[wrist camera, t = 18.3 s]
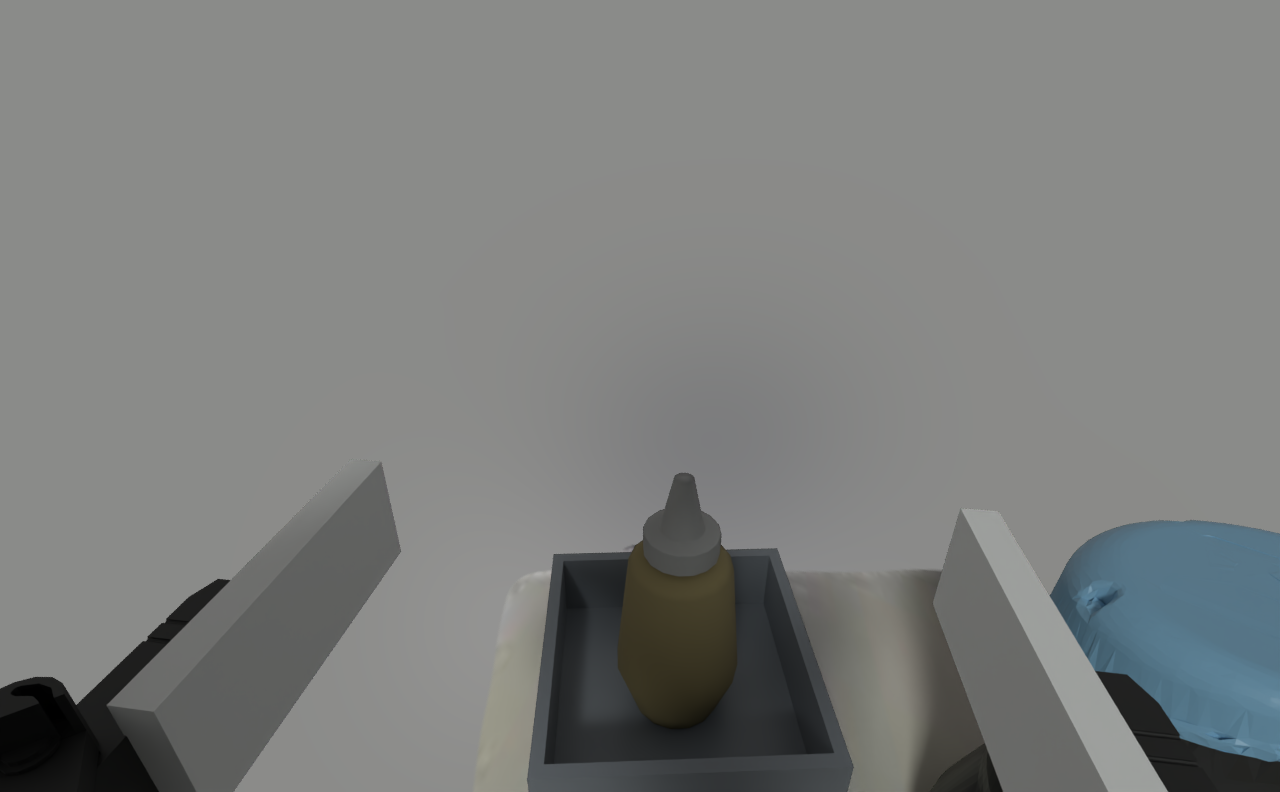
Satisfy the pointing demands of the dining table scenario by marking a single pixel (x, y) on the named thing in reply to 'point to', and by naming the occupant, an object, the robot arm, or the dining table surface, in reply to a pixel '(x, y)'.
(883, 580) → the dining table surface
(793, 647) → the box
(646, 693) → the squeeze bottle
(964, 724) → the dining table surface
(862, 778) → the dining table surface
